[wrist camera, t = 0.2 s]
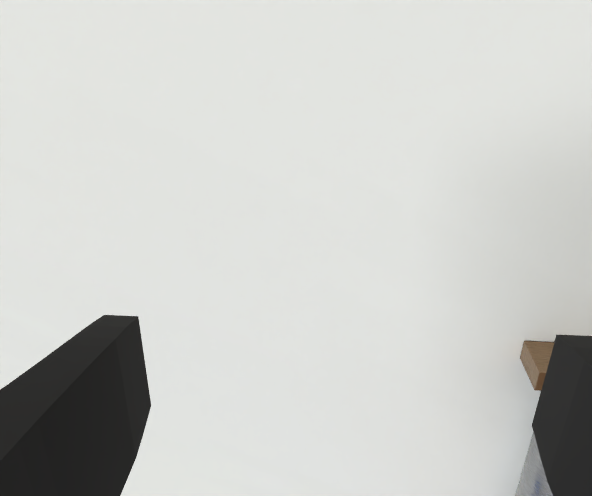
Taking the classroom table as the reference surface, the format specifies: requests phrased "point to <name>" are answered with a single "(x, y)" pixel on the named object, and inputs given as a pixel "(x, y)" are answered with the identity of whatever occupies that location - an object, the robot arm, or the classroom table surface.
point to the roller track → (533, 481)
